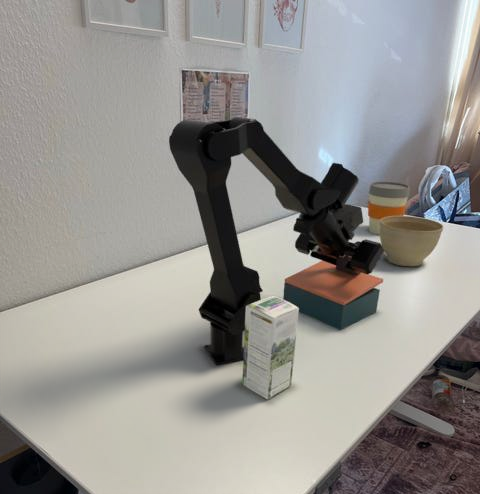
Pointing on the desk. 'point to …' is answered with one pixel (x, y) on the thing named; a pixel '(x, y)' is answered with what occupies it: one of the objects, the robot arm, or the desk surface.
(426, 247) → the planter bowl
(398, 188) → the reusable coffee cup
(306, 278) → the lid
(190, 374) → the desk surface
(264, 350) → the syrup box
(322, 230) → the robot arm
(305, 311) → the box
